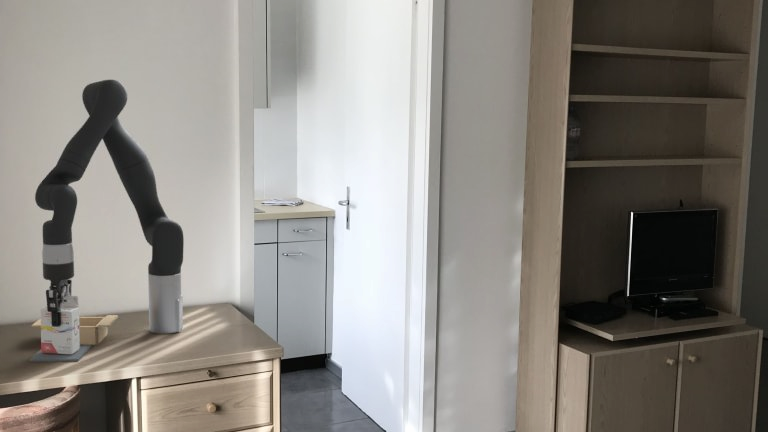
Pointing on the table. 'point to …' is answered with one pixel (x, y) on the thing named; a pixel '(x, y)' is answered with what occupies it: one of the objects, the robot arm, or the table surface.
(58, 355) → the mat
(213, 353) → the table surface
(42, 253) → the robot arm
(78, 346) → the ink cartridge box
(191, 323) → the table surface
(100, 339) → the carton
